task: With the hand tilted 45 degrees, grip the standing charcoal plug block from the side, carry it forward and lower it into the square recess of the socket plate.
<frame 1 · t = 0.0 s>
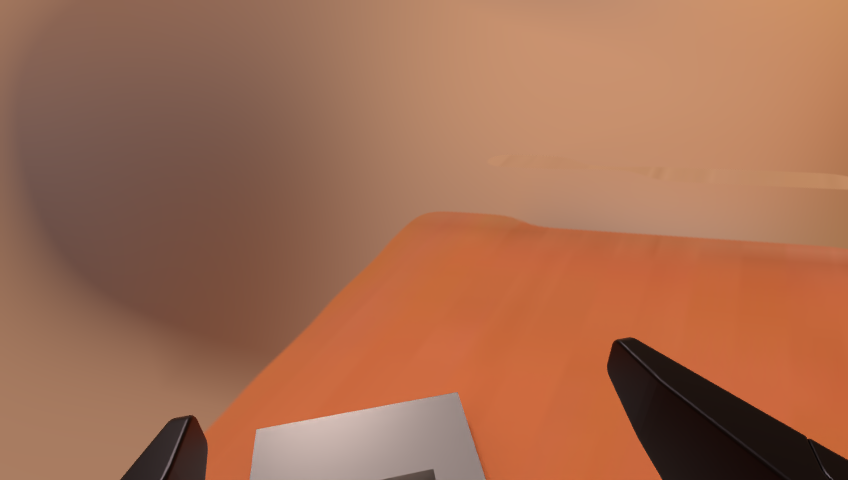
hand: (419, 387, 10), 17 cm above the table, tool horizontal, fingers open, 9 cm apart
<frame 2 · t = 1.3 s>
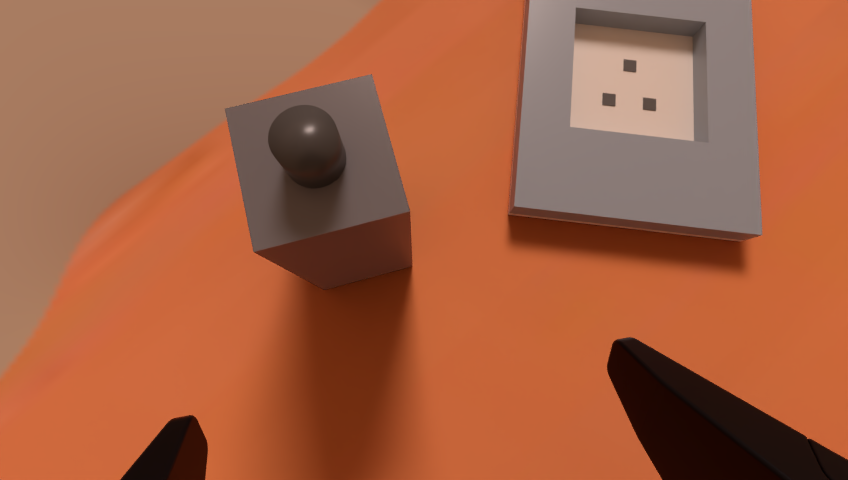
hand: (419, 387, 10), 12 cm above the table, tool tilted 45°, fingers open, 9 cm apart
plug: (357, 235, 23), on the table
socket: (626, 88, 25), on the table
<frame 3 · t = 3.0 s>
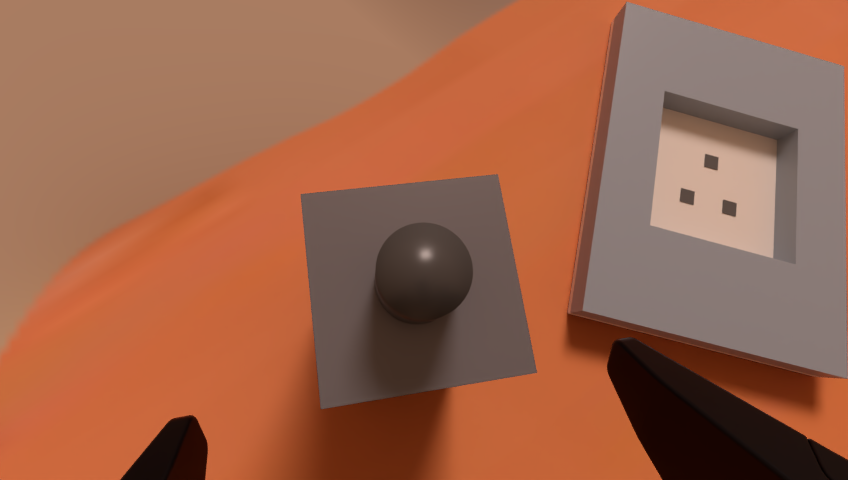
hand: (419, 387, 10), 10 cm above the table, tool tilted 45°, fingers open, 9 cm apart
plug: (393, 316, 19), on the table
socket: (705, 185, 23), on the table
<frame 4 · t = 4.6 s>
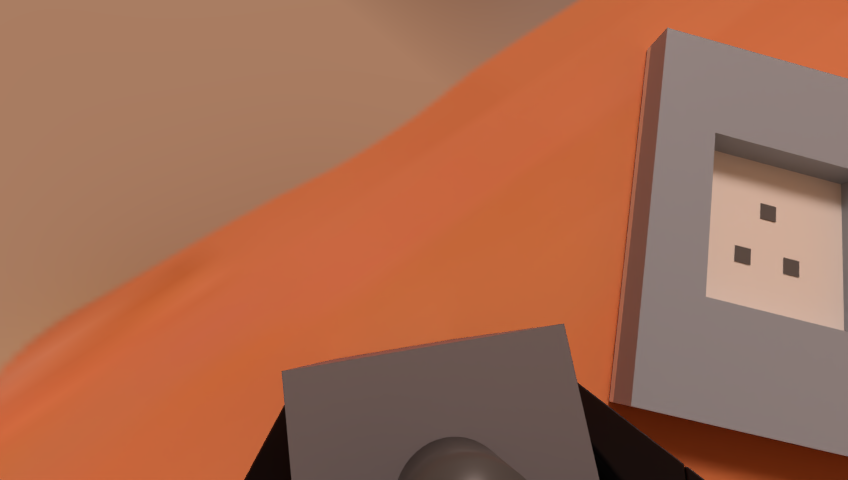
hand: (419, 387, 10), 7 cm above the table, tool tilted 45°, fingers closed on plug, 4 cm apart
plug: (404, 412, 16), on the table, touching gripper
socket: (761, 240, 20), on the table
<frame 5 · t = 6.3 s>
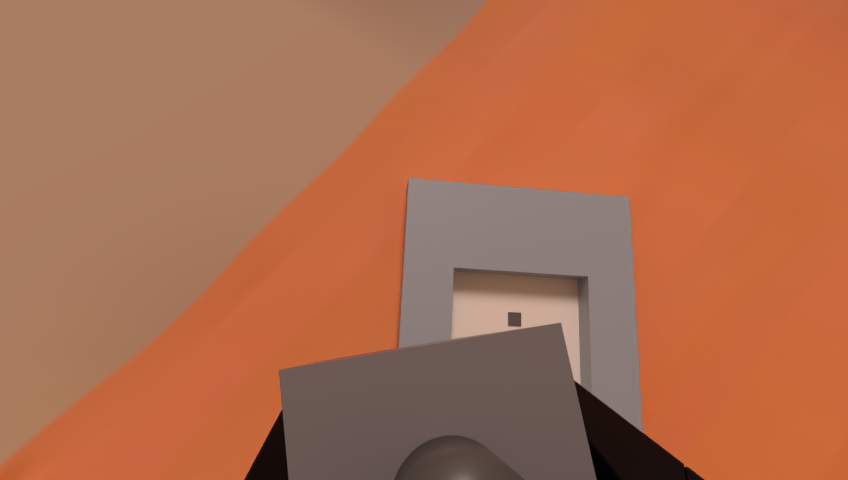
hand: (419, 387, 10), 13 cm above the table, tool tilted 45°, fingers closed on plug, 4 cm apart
plug: (403, 412, 16), point 6 cm above the table, touching gripper
socket: (512, 342, 24), on the table
when the fingers open (9 cm above the table, at t = 7.9 s): plug drops 1 cm, resting on socket.
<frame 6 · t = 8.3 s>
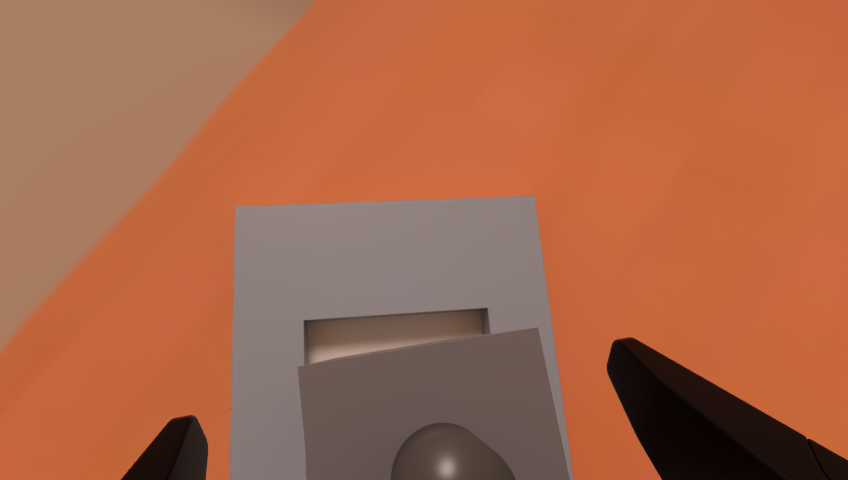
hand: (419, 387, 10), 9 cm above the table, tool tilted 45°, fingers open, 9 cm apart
plug: (402, 407, 17), resting on socket
socket: (401, 406, 18), on the table
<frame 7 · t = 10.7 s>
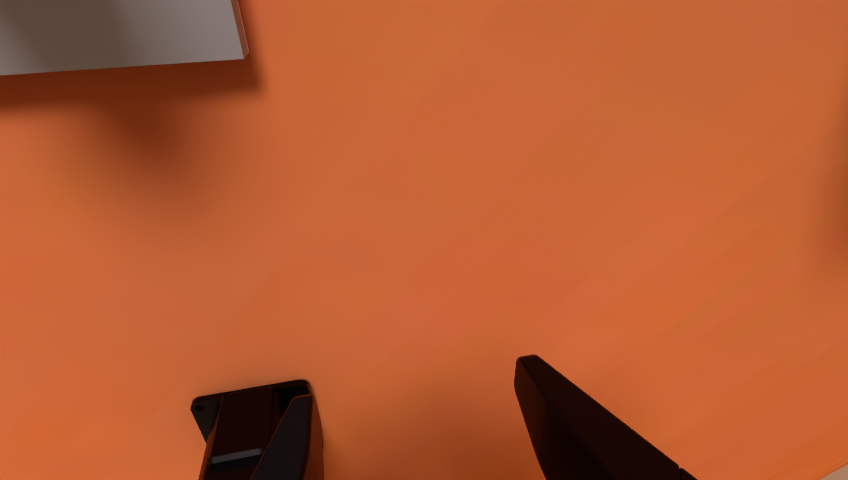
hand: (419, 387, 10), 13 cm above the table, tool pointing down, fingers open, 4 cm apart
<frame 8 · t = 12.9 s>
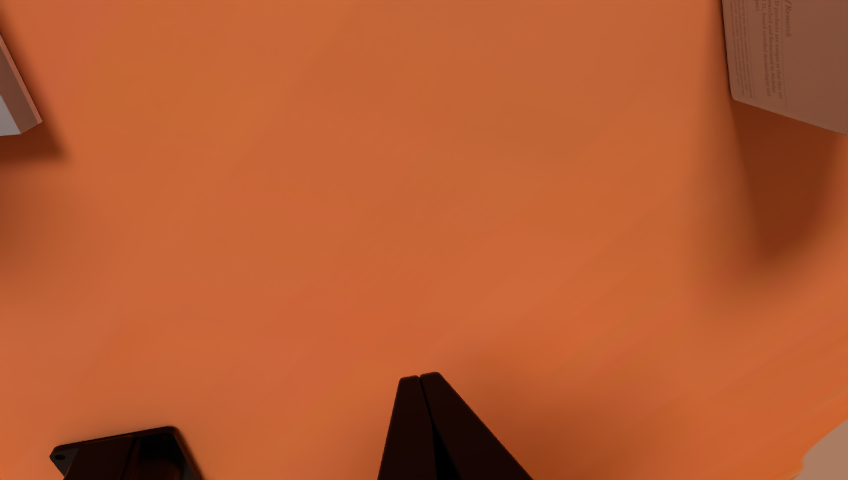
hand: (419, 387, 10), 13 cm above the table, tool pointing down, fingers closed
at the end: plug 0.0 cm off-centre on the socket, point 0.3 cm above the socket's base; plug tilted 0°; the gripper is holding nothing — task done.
